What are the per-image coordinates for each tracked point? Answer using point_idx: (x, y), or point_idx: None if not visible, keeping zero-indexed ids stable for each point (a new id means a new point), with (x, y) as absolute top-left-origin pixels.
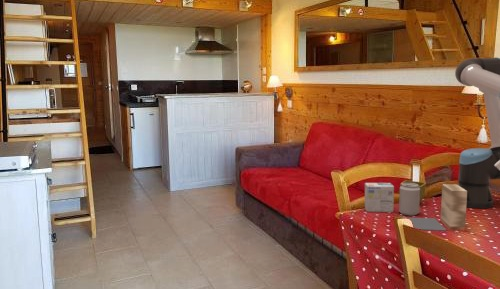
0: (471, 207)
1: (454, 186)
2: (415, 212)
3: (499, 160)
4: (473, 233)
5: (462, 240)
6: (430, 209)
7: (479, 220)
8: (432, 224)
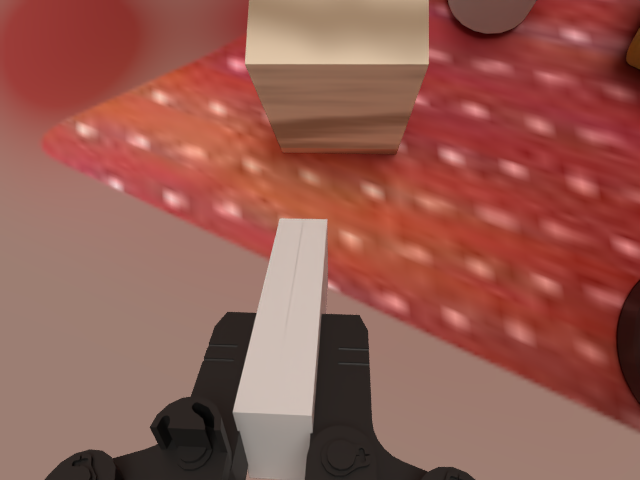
0: (623, 307)
1: (365, 31)
2: (454, 7)
3: (315, 267)
4: (248, 170)
5: (175, 105)
6: (565, 106)
7: (416, 261)
8: None
